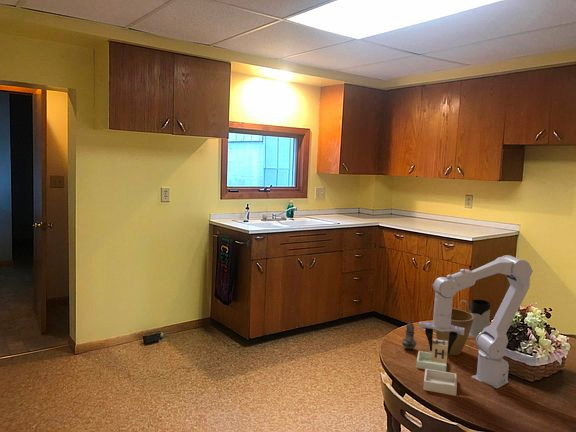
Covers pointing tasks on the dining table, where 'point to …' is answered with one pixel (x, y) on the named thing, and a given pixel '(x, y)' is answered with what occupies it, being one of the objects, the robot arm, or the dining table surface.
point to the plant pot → (459, 320)
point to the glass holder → (479, 316)
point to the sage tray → (429, 362)
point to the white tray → (440, 382)
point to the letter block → (439, 351)
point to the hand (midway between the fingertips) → (439, 351)
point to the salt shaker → (409, 337)
